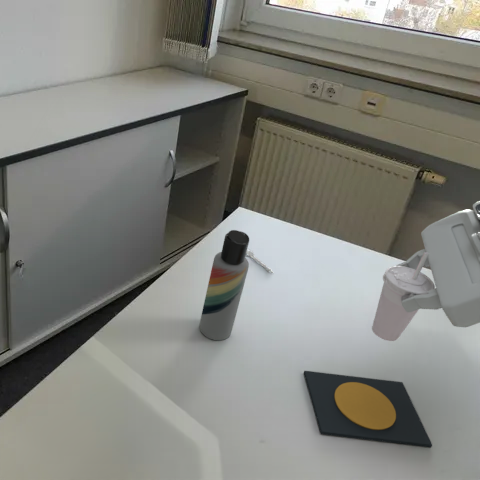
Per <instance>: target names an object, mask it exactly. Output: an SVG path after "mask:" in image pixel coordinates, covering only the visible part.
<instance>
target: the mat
mask: <svg viewBox="0 0 480 480" xmlns="http://www.w3.org/2000/svg"><path fill="white" fill-rule="evenodd" d="M303 376H304V379H305V383H306V387H307V391H308V393H309V398H310V401H311V405H312V409H313V412H314V415H315V419H316V423H317V427H318V430H319V432H320V435H325V436H333V437H341V438H348V439H357V440H366V441H374V442H382V443H390V444H391V443H392V444H397V445H398V444H399V445H409V446H415V447H422V448H423V447H425V448H432V446H433V443H432V441H431V439H430V437H429V435H428V433H427V430H426V429H425V427H424V424H423V422H422V420H421V418H420V416H419V414H418V412H417V410H416V408H415V405H414V403H413V401H412V399H411V397H410V395H409V393H408V391H407V389H406V386H405V384H404V382H403V381H395V380H386V379H380V378H379V379H378V378H369V377H361V376H354V375H346V374H345V375H344V374H336V373H330V372H329V373H328V372H320V371H311V370H303Z"/></svg>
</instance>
